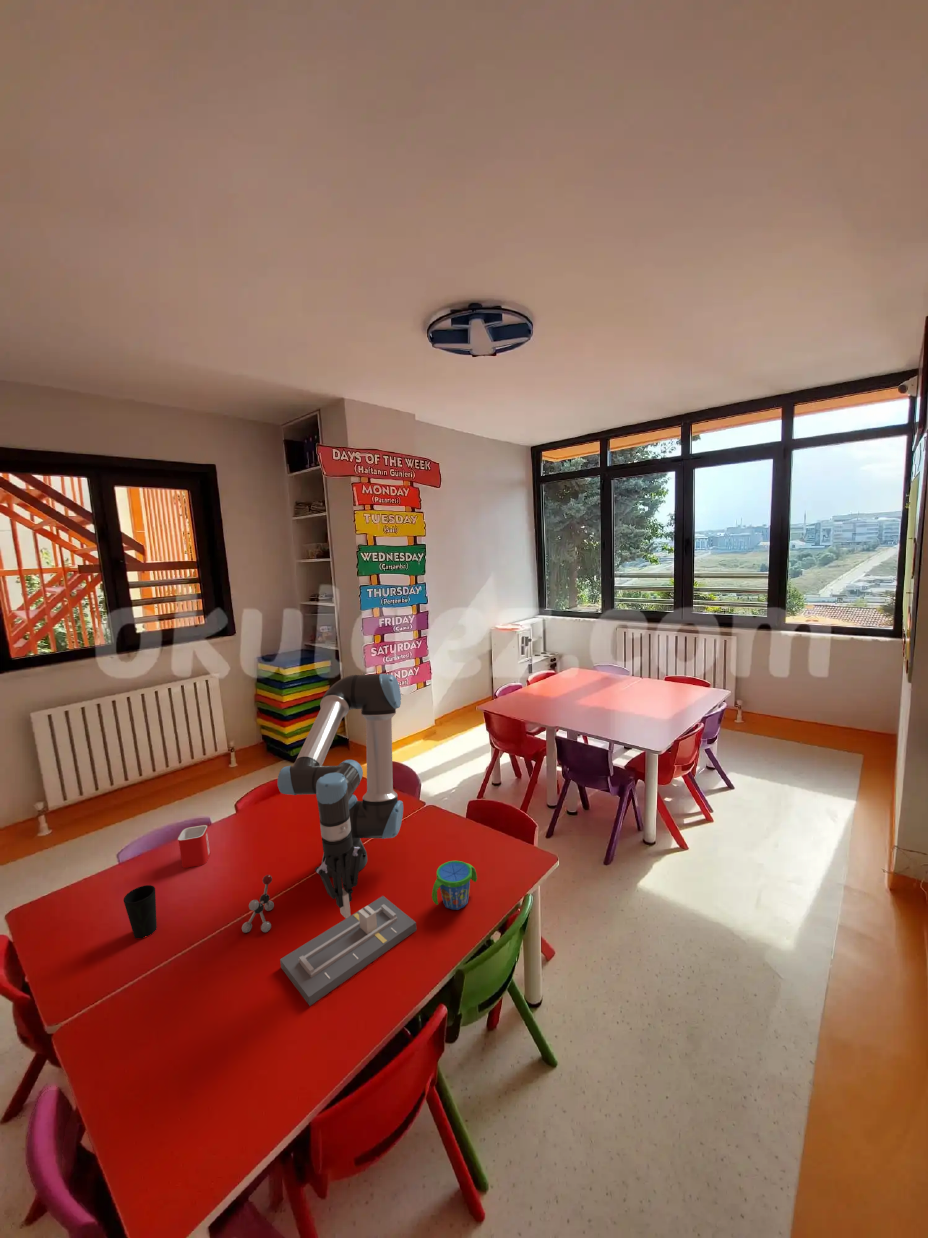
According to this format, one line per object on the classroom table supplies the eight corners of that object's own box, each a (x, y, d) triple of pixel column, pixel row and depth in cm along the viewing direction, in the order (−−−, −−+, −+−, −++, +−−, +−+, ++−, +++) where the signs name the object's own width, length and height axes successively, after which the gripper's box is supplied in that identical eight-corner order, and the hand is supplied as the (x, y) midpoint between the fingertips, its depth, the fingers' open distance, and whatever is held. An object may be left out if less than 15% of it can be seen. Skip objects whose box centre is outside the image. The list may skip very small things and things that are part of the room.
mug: (206, 865, 175) (202, 836, 173) (180, 869, 173) (176, 841, 172) (214, 845, 186) (211, 819, 185) (190, 849, 185) (187, 823, 183)
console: (280, 967, 129) (279, 953, 129) (383, 903, 151) (382, 891, 150) (309, 1006, 118) (308, 991, 117) (416, 930, 139) (415, 917, 139)
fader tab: (360, 927, 138) (358, 910, 137) (369, 921, 140) (367, 904, 140) (367, 935, 135) (366, 917, 135) (377, 928, 137) (375, 911, 137)
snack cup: (467, 882, 158) (465, 852, 157) (487, 901, 149) (485, 869, 148) (424, 903, 150) (422, 872, 148) (442, 924, 141) (440, 891, 140)
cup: (167, 924, 147) (161, 887, 145) (143, 944, 140) (136, 905, 138) (147, 919, 149) (142, 883, 148) (123, 939, 142) (116, 900, 141)
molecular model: (240, 935, 141) (236, 901, 140) (259, 905, 153) (255, 873, 152) (269, 934, 141) (264, 900, 139) (285, 904, 153) (281, 872, 151)
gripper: (320, 852, 122) (330, 936, 126) (366, 828, 131) (374, 908, 135) (306, 839, 127) (316, 921, 131) (351, 817, 136) (359, 894, 140)
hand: (345, 914), depth 133 cm, fingers closed
